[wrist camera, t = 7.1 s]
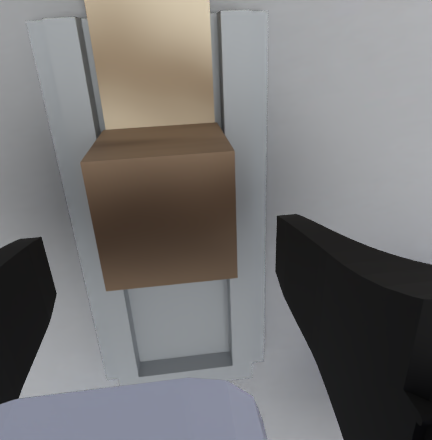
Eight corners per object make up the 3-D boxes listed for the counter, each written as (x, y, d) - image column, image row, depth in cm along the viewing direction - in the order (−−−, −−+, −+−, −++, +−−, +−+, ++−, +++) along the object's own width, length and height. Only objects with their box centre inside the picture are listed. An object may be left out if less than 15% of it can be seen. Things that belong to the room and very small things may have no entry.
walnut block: (221, 222, 19) (237, 278, 15) (120, 231, 19) (105, 291, 14) (216, 122, 17) (234, 150, 13) (103, 129, 17) (79, 162, 12)
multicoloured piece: (218, 232, 20) (233, 288, 16) (126, 240, 20) (114, 301, 15) (200, -148, 14) (217, -244, 9) (64, -147, 13) (9, -248, 9)
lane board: (260, 350, 26) (268, 375, 24) (109, 368, 25) (104, 396, 23) (263, 12, 17) (275, 8, 15) (33, 21, 16) (14, 19, 14)
